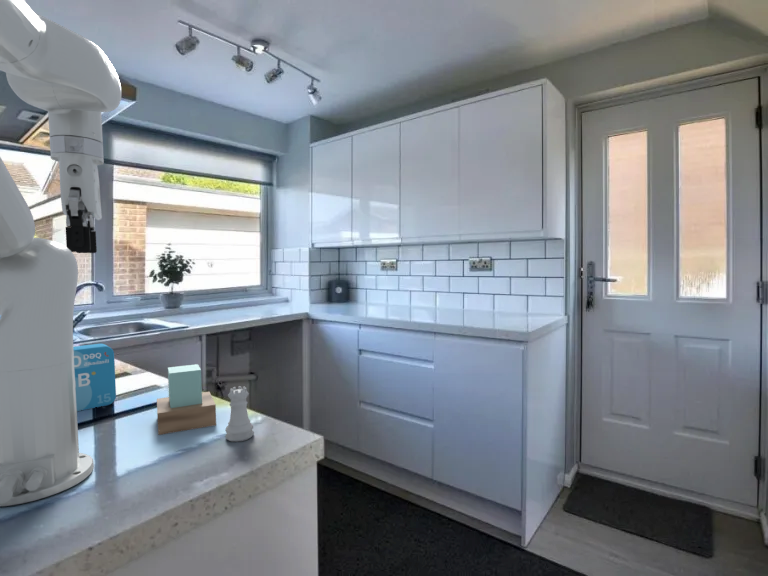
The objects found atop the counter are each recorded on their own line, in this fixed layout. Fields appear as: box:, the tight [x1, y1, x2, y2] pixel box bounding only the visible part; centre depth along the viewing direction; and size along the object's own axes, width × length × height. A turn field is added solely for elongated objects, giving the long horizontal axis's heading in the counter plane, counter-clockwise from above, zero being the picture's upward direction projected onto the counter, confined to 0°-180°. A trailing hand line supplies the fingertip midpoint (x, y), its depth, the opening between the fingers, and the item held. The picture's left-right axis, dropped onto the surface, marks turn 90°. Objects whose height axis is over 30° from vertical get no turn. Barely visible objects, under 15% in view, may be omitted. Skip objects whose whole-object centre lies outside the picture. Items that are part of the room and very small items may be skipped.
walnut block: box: [156, 391, 217, 436], centre depth 79 cm, size 9×9×4 cm
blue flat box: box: [73, 343, 117, 412], centre depth 87 cm, size 12×4×12 cm, turn 133°
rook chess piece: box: [224, 385, 255, 443], centre depth 71 cm, size 4×4×8 cm
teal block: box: [167, 363, 203, 408], centre depth 78 cm, size 5×5×6 cm
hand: (82, 252), depth 77 cm, fingers open, 9 cm apart
